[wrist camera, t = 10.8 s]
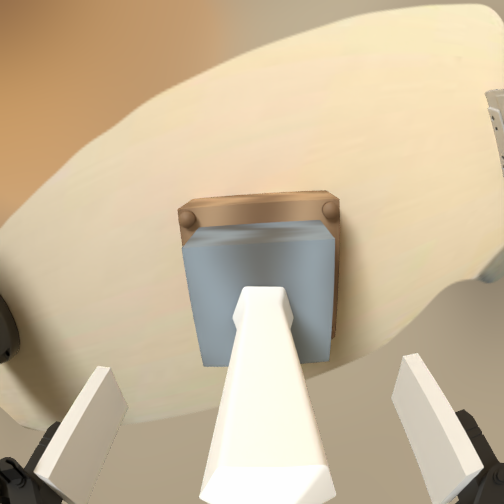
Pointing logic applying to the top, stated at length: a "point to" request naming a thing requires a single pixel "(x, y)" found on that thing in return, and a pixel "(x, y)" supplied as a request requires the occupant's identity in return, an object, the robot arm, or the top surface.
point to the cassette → (497, 119)
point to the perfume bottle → (265, 415)
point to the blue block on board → (262, 265)
